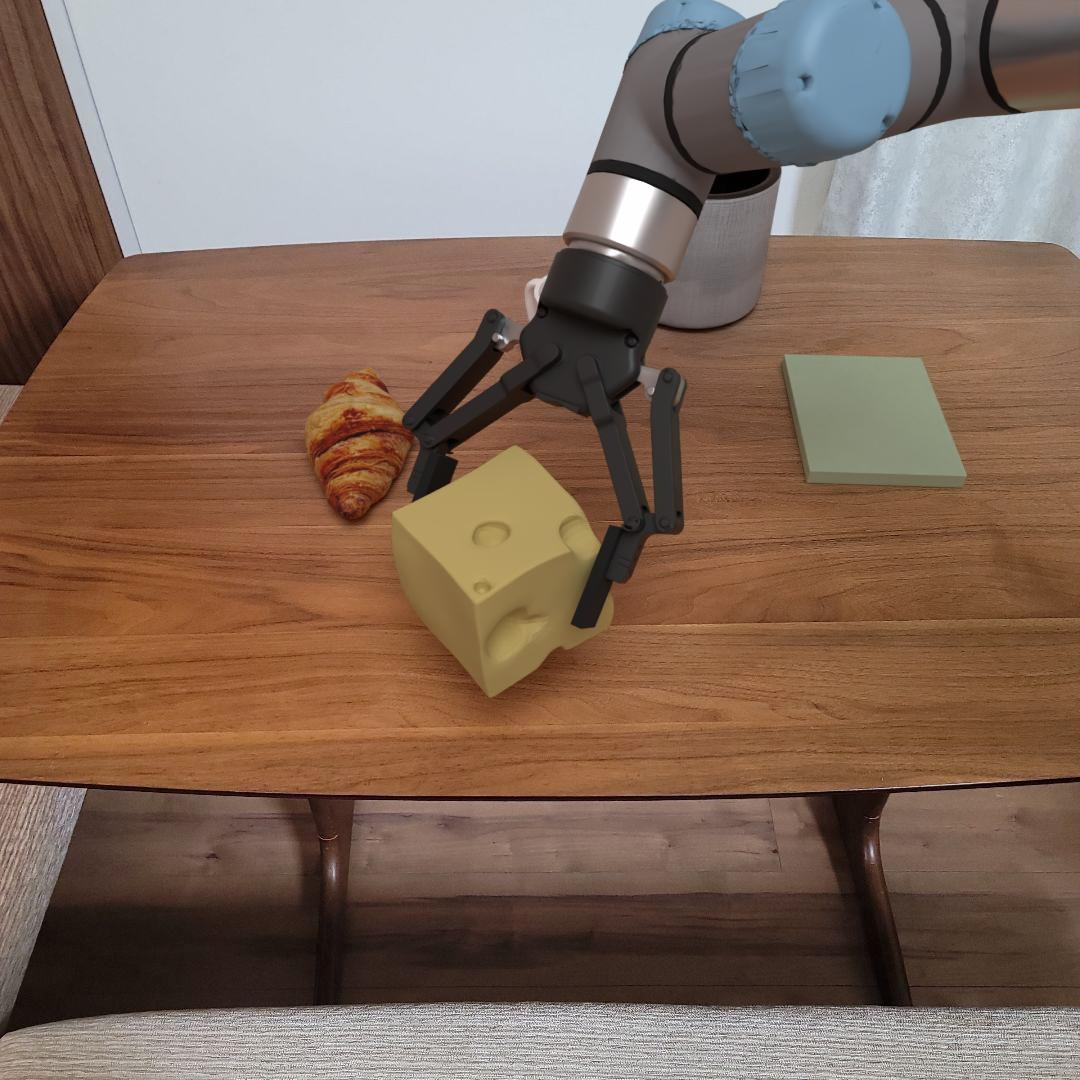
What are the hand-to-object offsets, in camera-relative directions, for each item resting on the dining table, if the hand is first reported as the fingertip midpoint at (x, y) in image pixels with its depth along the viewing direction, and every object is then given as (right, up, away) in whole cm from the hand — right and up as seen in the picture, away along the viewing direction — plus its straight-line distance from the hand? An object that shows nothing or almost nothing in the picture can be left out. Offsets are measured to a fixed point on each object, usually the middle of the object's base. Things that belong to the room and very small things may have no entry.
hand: (493, 585), depth 60 cm
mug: (+6, +20, +36) cm, 41 cm away
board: (+35, +14, +31) cm, 49 cm away
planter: (+20, +31, +46) cm, 59 cm away
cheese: (+1, -3, +4) cm, 5 cm away
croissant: (-14, +11, +28) cm, 33 cm away
